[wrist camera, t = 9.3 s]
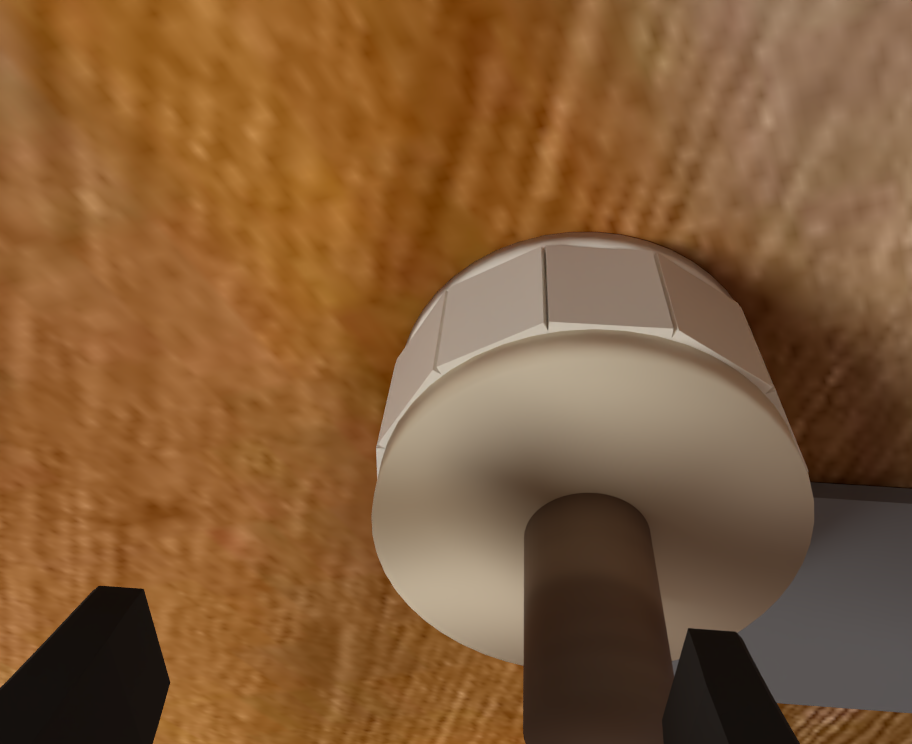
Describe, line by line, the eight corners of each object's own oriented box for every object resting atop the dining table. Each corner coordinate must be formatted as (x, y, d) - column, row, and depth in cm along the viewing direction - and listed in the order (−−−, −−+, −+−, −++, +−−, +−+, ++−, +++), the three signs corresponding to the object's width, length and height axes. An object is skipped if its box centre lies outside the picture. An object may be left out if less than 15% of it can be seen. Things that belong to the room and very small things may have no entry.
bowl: (717, 529, 24) (747, 647, 20) (402, 508, 24) (383, 621, 21) (799, 242, 19) (857, 339, 15) (397, 221, 19) (371, 311, 16)
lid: (762, 642, 20) (828, 879, 16) (396, 632, 21) (362, 855, 17) (843, 328, 15) (973, 549, 11) (356, 329, 16) (291, 536, 12)
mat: (919, 697, 27) (927, 714, 27) (643, 676, 28) (646, 692, 27) (1035, 496, 22) (1046, 512, 22) (694, 474, 23) (698, 489, 22)
